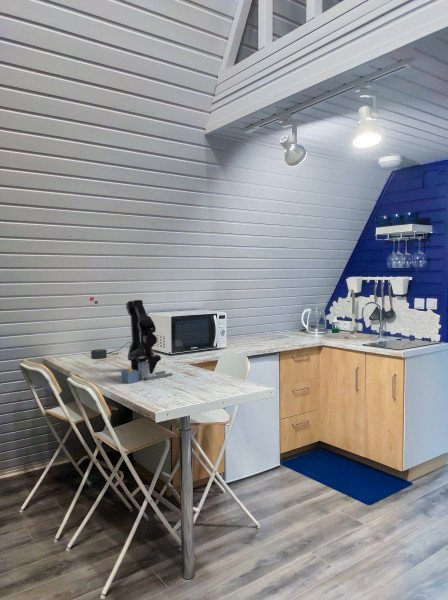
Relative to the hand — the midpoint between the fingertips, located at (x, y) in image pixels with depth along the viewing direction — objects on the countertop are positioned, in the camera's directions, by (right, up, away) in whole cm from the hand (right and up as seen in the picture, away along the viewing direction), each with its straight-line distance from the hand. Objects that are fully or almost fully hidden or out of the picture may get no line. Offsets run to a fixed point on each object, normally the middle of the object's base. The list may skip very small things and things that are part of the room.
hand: (147, 372), depth 235 cm
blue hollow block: (-8, -4, -6) cm, 10 cm away
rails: (+4, -3, +3) cm, 6 cm away
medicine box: (0, -3, 0) cm, 3 cm away
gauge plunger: (-8, -1, -7) cm, 10 cm away
